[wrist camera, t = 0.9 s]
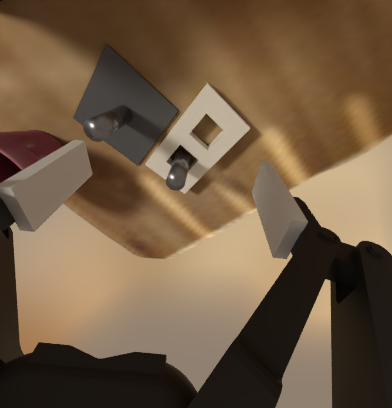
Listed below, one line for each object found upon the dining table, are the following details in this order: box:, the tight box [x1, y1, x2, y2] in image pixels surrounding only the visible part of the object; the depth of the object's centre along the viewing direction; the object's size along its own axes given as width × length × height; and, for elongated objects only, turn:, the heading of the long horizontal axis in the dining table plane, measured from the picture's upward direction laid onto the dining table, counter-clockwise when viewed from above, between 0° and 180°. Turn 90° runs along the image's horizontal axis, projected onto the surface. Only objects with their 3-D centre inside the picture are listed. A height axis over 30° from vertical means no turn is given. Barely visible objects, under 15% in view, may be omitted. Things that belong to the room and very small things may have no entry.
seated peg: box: [166, 149, 191, 190], centre depth 35 cm, size 3×3×11 cm
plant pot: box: [0, 130, 63, 182], centre depth 36 cm, size 14×14×13 cm
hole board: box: [145, 83, 250, 194], centre depth 37 cm, size 10×18×2 cm, turn 139°
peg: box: [83, 105, 133, 142], centre depth 31 cm, size 3×3×11 cm
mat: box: [73, 44, 179, 165], centre depth 36 cm, size 14×14×1 cm
